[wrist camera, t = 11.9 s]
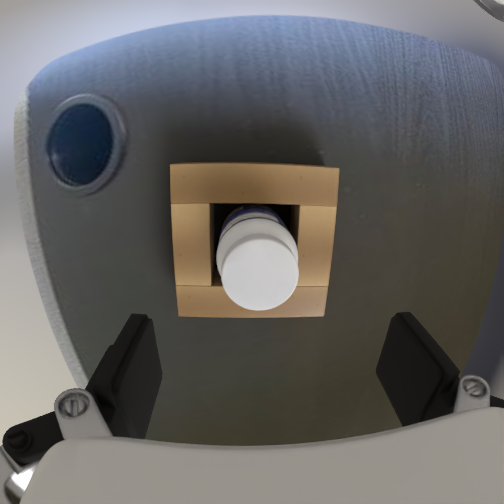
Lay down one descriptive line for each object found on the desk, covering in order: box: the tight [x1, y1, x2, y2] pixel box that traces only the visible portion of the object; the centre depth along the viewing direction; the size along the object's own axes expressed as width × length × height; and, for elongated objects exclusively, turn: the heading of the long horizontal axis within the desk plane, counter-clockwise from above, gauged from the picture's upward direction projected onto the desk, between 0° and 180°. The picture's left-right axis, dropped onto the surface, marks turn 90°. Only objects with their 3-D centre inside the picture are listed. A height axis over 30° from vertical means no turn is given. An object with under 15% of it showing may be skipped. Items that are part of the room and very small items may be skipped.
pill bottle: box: [216, 203, 299, 311], centre depth 22 cm, size 6×6×10 cm
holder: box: [170, 162, 339, 318], centre depth 25 cm, size 13×13×4 cm
